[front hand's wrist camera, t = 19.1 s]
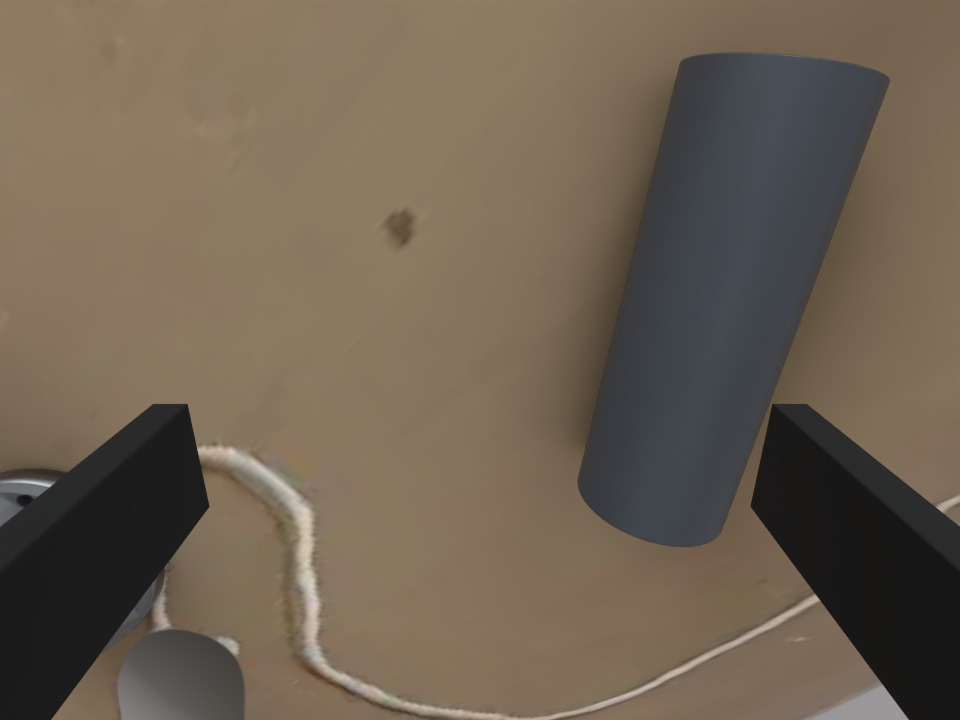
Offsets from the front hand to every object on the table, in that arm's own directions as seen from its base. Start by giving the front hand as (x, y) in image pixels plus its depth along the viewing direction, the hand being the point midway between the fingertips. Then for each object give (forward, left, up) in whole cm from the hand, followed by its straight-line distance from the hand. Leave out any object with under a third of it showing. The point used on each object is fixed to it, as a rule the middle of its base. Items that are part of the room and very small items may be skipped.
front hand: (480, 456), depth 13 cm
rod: (+9, -9, -23) cm, 26 cm away
